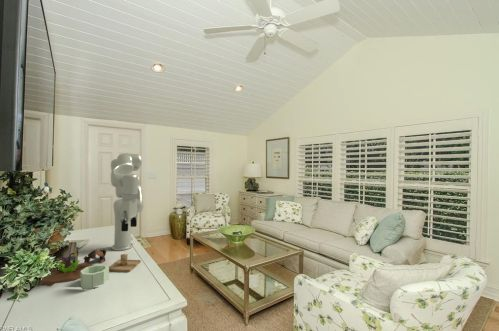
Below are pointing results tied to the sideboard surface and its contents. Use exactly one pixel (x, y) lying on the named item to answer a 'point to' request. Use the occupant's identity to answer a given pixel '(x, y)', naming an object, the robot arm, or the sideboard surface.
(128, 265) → the lid
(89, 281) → the bowl
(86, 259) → the brown animal figurine
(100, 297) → the sideboard surface
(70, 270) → the plant
